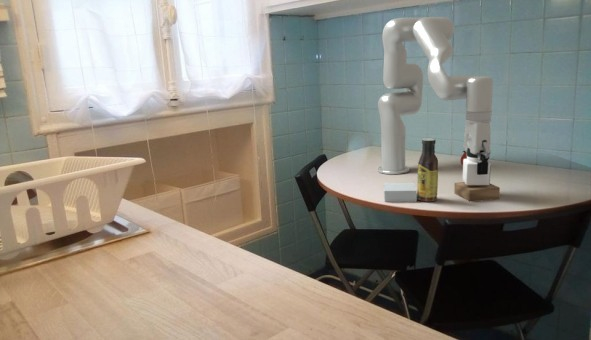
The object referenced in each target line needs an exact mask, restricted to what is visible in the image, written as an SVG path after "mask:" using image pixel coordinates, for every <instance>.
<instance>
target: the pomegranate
mask: <svg viewBox="0 0 591 340" xmlns="http://www.w3.org/2000/svg"><path fill="white" fill-rule="evenodd" d="M466 152H467V151H466V150H463V151H462V153H463V154H462V155H461V156H460V157H461V158H460V164H461V165H462V166H463V160H464V159H466V157H467V156H466Z"/></svg>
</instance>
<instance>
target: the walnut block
mask: <svg viewBox="0 0 591 340" xmlns="http://www.w3.org/2000/svg"><path fill="white" fill-rule="evenodd" d="M500 188H501V187H499V186H497V185H494V184H493V183H490V185H466V184H465V182H464V181H462V182H454V191H453V192H454V194H455V195H457V196H458V197H460V198H461V199H463V200H465V199H466V201H467V200H468V201H467V202H469V203H470V201H473V202H479V201H480V202H481V200H482V201H489V200H490V199H492V200H500V192H501V191H500Z"/></svg>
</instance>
